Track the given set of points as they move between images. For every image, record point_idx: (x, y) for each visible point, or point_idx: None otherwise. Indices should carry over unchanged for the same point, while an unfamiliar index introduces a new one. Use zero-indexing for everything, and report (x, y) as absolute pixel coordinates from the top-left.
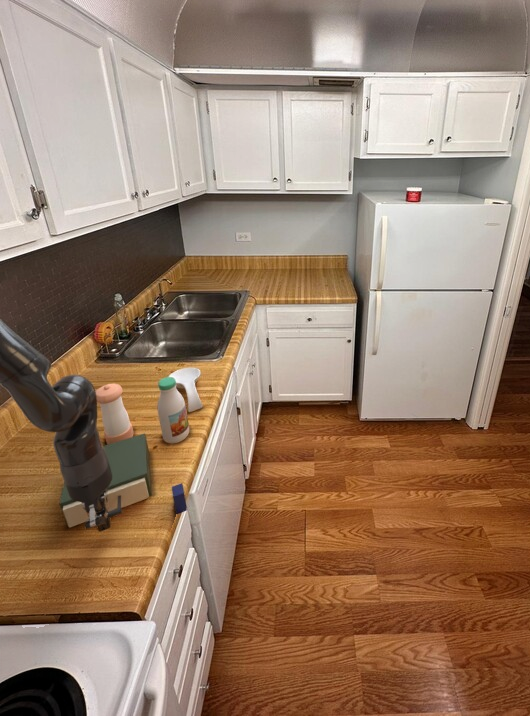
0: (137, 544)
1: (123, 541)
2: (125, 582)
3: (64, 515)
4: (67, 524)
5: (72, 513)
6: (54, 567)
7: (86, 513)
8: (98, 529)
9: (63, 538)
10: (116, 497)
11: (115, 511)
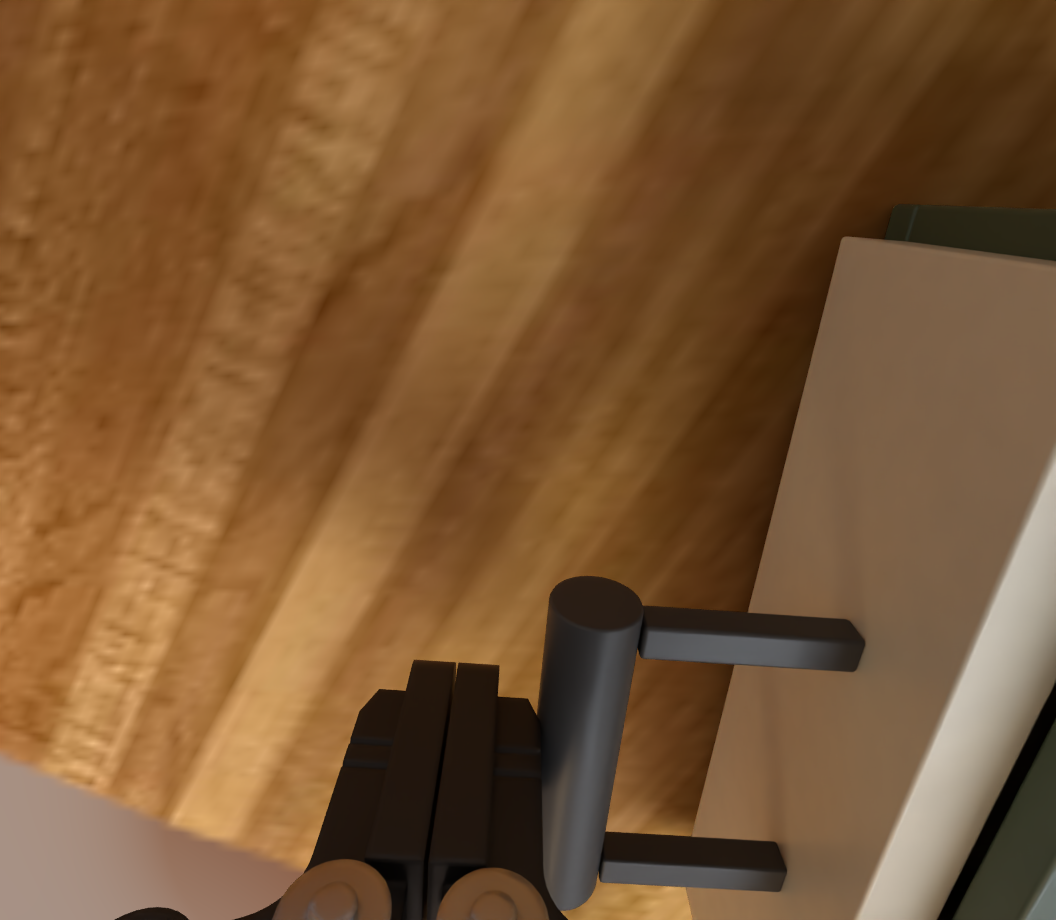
0: (310, 745)
1: (389, 667)
2: (27, 663)
3: (1039, 221)
4: (915, 208)
5: (948, 373)
6: (420, 91)
7: (843, 492)
8: (406, 689)
9: (759, 162)
10: (788, 843)
11: (545, 868)
